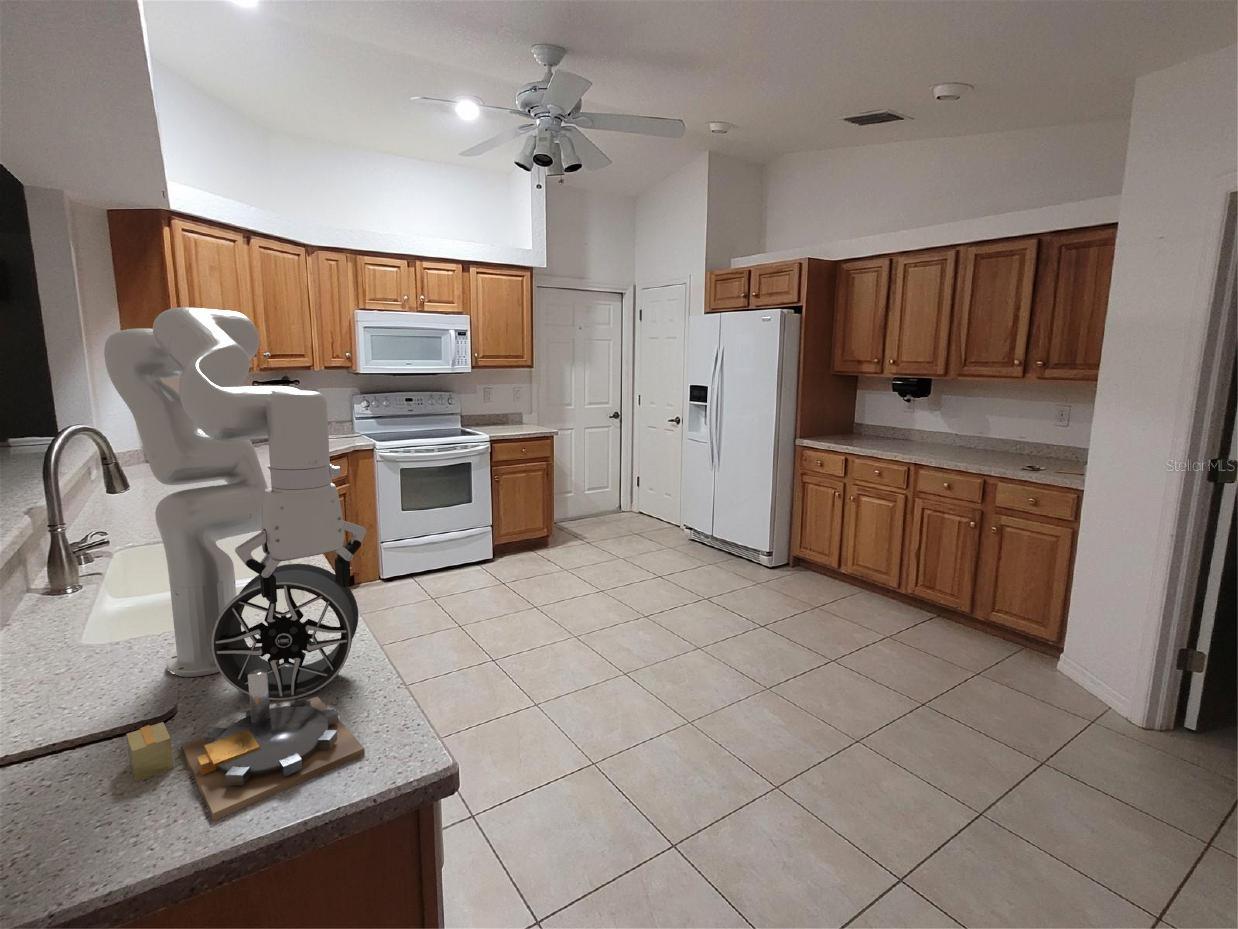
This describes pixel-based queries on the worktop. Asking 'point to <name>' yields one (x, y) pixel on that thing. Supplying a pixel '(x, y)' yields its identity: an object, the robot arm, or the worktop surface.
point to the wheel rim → (285, 634)
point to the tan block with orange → (149, 751)
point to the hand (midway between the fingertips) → (308, 592)
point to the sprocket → (267, 737)
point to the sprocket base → (260, 787)
